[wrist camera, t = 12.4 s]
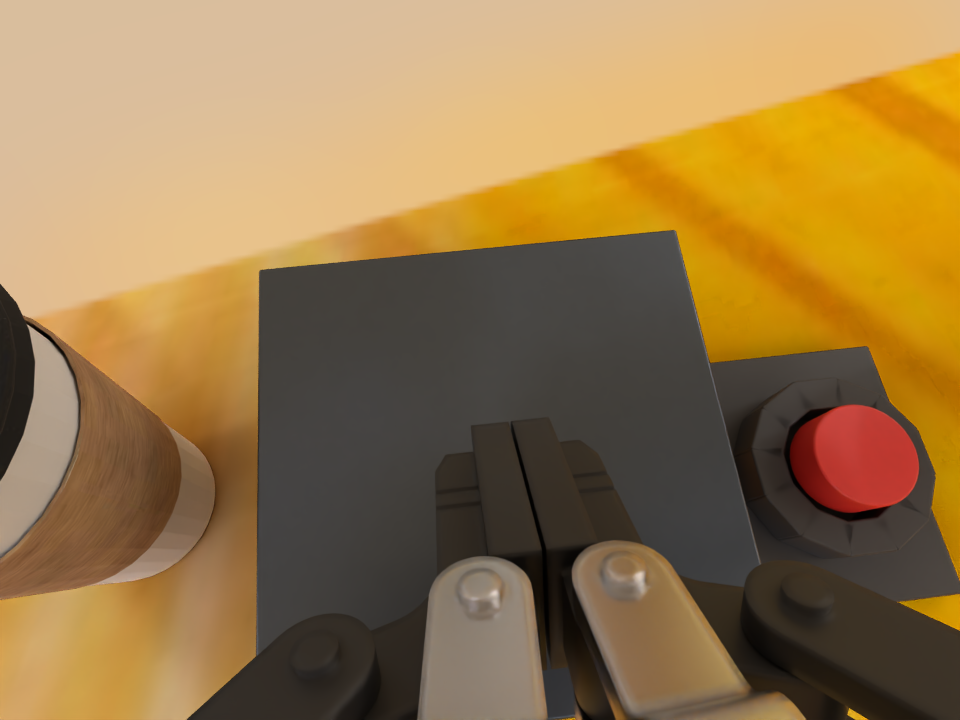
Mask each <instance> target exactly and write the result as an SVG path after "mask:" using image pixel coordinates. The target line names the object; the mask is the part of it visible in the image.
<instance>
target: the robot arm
mask: <svg viewBox="0 0 960 720" xmlns="http://www.w3.org/2000/svg"><path fill="white" fill-rule="evenodd" d="M471 436H472V447H473V452H464V453H455V454H446V455H445V457H444V458H443V460H442V461H441V463H440V465H439V466H438V468H437V469H436V471H435V492H436V494H435V497H436V543H437V578H436V579H435V581H434V582H433V584H432V587H431V589H430V593H429V595H428V597H427V598H426V599H425V600H424V601H423V602H422V603H421V604H420V605H419V606H418V607H417V608H416V609H414V610H413V611H412V612H410V613H409V614H407V615H405V616H404V617H402V618H400V619H397V620H395V621H393V622H391V623H388V624H386V625H383V626H381V627H378V628H376V629H373V630H371V631H370V630H369V628H368V627H367V626H366V625H365V624H364V623H363V622H361V621H360V620H359V619H357V618H355V617H352V616H350V615H345V614H338V613H330V614H322V615H317V616H313V617H310V618H307V619H305V620H303V621H301V622H299V623H296V624H295V625H293V626H292V627H290V628H288V629H287V630H286V631H285V632H283V633H282V634H281V635H280V636H278V637H277V638H276V639H275V640H274V641H273V642H272V643H271V644H270V645H268V646H267V647H266V648H265V649H264V650H263V651H262V652H261V653H260V654H259V655H257V656H256V657H255V658H254V659H253V660H252V661H251V662H250V663H249V664H247V665H246V666H245V667H244V668H243V669H242V670H241V671H240V672H239V673H238V674H236V675H235V676H234V677H233V678H232V679H231V680H230V681H229V682H228V683H226V684H225V685H224V686H223V687H222V688H221V689H220V690H219V691H218V692H217V693H215V694H214V695H213V696H212V697H211V698H210V699H209V700H208V701H207V702H205V703H204V704H203V705H202V706H201V707H200V708H199V709H198V710H197V711H196V712H194V713H193V714H192V715H191V716H190V717H189V718H188V719H187V720H548V716H547V708H546V699H545V691H544V682H543V674H542V671H544V670H547V658H546V647H547V652H548V657H549V661H550V666H551V669H558V668H565V667H568V669H569V672H570V676H571V680H572V684H573V688H574V715H575V720H855V719H853V718H851V717H850V716H848V715H847V713H848V710H849V708H850V709H852V710H854V711H855V712H857V713H859V714H860V715H862V716H864V717H865V718H867V719H869V720H960V631H959V630H957V629H955V628H952V627H950V626H948V625H946V624H944V623H941V622H939V621H937V620H935V619H933V618H930V617H928V616H926V615H924V614H922V613H919V612H917V611H915V610H913V609H911V608H908V607H906V606H904V605H902V604H900V603H897V602H895V601H893V600H891V599H889V598H887V597H884V596H882V595H880V594H878V593H876V592H873V591H871V590H869V589H867V588H865V587H862V586H860V585H858V584H856V583H854V582H851V581H849V580H847V579H845V578H843V577H840V576H838V575H836V574H834V573H832V572H830V571H827V570H825V569H822V568H820V567H818V566H815V565H811V564H808V563H804V562H799V561H791V560H776V561H770V562H766V563H763V564H760V565H759V566H757V567H755V568H754V569H753V570H752V571H751V572H750V573H749V574H748V576H747V577H746V581H745V585H744V587H740V586H732V585H725V584H717V583H710V582H703V581H698V580H693V579H690V578H687V577H684V576H681V575H679V574H677V573H676V572H675V570H674V568H673V567H672V566H671V564H670V563H669V562H668V561H667V560H666V559H665V558H664V557H663V556H662V555H661V554H659V553H658V552H656V551H655V550H653V549H651V548H649V547H647V546H644V545H643V543H642V541H641V539H640V537H639V535H638V533H637V531H636V529H635V527H634V525H633V523H632V521H631V519H630V517H629V515H628V513H627V511H626V509H625V507H624V504H623V502H622V500H621V498H620V496H619V494H618V492H617V490H616V489H614V484H613V482H612V480H611V478H610V476H609V474H608V475H607V470H606V468H605V466H604V464H603V462H602V460H601V458H600V456H599V454H598V453H597V452H596V451H594V450H593V449H592V448H590V447H589V446H588V445H586V444H585V443H584V442H582V441H581V440H571V441H562V442H559V440H558V438H557V435H556V433H555V430H554V428H553V425H552V423H551V420H550V418H549V417H544V418H534V419H525V420H516V421H511V425H509V422H499V423H490V424H480V425H471Z"/></svg>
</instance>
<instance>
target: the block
mask: <svg viewBox="0 0 960 720" xmlns="http://www.w3.org/2000/svg"><path fill="white" fill-rule="evenodd" d="M710 366H711V370H712V374H713V378H714V382H715V386H716V390H717V394H718V397H719V401H720V405H721V409H722V413H723V417H724V421H725V425H726V429H727V432H728V436H729V440H730V444H731V448H732V452H733V456H734V460H735V464H736V468H737V471H738V475H739V479H740V483H741V487H742V491H743V495H744V499H745V503H746V507H747V510H748V514H749V518H750V522H751V526H752V530H753V534H754V538H755V542H756V545H757V549H758V553H759V557H760V561H761V564H763V563H766V562H770V561H776V560H791V561H799V562H804V563H808V564H811V565H815V566H818V567H820V568H822V569H825V570H827V571H830V572H832V573H834V574H836V575H838V576H840V577H843V578H845V579H847V580H849V581H851V582H854V583H856V584H858V585H860V586H862V587H865V588H867V589H869V590H871V591H873V592H876V593H878V594H880V595H882V596H884V597H887V598H889V599H891V600H893V601H895V602H901V601H909V600H916V599H924V598H932V597H939V596H947V595H955V594H960V581H959V578H958V576H957V573H956V571H955V568H954V566H953V563H952V561H951V558H950V555H949V553H948V550H947V548H946V545H945V543H944V540H943V538H942V535H941V532H940V530H939V527H938V525H937V522H936V520H935V517H934V514H933V512H932V509H931V506H932V499H933V492H934V485H935V478H936V477H935V471H934V469H933V466H932V464H931V461H930V459H929V456H928V454H927V451H926V449H925V446H924V444H923V441H922V439H921V436H920V434H919V431H918V430H917V428H916V427H915V426H914V425H913V424H912V423H911V422H910V421H909V420H908V419H906V418H905V417H904V416H903V415H902V414H901V413H900V412H899V411H898V410H897V409H896V408H895V407H894V406H893V405H892V404H891V403H890V402H889V399H888V397H887V394H886V392H885V389H884V387H883V384H882V381H881V379H880V376H879V374H878V371H877V369H876V366H875V364H874V361H873V358H872V356H871V353H870V351H869V348H868V347H867V346H864V347H854V348H845V349H836V350H827V351H817V352H808V353H799V354H790V355H780V356H771V357H762V358H753V359H743V360H734V361H725V362H716V363H710ZM844 405H863V406H868V407H871V408H874V409H877V410H879V411H881V412H883V413H885V414H886V415H888V416H889V417H891V418H892V419H894V420H895V421H896V422H897V423H898V424H899V425H900V426H901V427H902V428H903V429H904V430H905V432H906V433H907V434H908V436H909V437H910V439H911V441H912V442H913V444H914V447H915V449H916V452H917V456H918V461H919V474H918V479H917V482H916V484H915V486H914V488H913V490H912V491H911V492H910V494H909V495H908V496H907V497H906V498H904V499H903V500H902V501H900V502H898V503H896V504H893V505H891V506H886V507H881V508H876V509H871V510H866V511H861V512H856V513H845V512H839V511H835V510H832V509H829V508H827V507H825V506H823V505H821V504H820V503H818V502H816V501H815V500H814V499H813V498H811V497H810V496H809V495H808V494H807V493H806V492H805V491H804V490H803V488H802V487H801V486H800V484H799V483H798V481H797V479H796V477H795V475H794V473H793V470H792V467H791V463H790V447H791V443H792V440H793V437H794V435H795V434H796V432H797V431H798V429H799V428H800V427H801V426H802V425H804V424H805V423H807V422H808V421H810V420H812V419H814V418H816V417H818V416H820V415H822V414H824V413H826V412H828V411H830V410H832V409H834V408H836V407H839V406H844Z"/></svg>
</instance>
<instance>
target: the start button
mask: <svg viewBox="0 0 960 720" xmlns="http://www.w3.org/2000/svg"><path fill="white" fill-rule="evenodd" d="M790 463H791V467H792V470H793V473H794V475H795V477H796V479H797V481H798V483H799V484H800V486H801V487H802V488H803V490H804V491H805V492H806V493H807V494H808V495H809V496H810V497H811V498H813V499H814V500H815V501H816V502H818V503H820V504H821V505H823V506H825V507H827V508H829V509H832V510H835V511H839V512H845V513H856V512H861V511H866V510H871V509H876V508H881V507H886V506H891V505H893V504H896V503H898V502H900V501H902V500H903V499H904V498H906V497H907V496H908V495H909V494H910V492H911V491H912V490H913V488H914V486H915V484H916V482H917V479H918V474H919V461H918V456H917V452H916V449H915V447H914V444H913V442H912V441H911V439H910V437H909V436H908V434H907V433H906V432H905V430H904V429H903V428H902V427H901V426H900V425H899V424H898V423H897V422H896V421H895V420H894V419H892V418H891V417H889V416H888V415H886V414H885V413H883V412H881V411H879V410H877V409H874V408H871V407H868V406H863V405H844V406H839V407H836V408H834V409H832V410H830V411H828V412H826V413H824V414H822V415H820V416H818V417H816V418H814V419H812V420H810V421H808V422H807V423H805V424H804V425H802V426H801V427H800V428H799V429H798V431H797V432H796V434H795V435H794V437H793V440H792V443H791V447H790Z"/></svg>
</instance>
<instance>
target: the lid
mask: <svg viewBox="0 0 960 720" xmlns="http://www.w3.org/2000/svg"><path fill="white" fill-rule="evenodd" d="M544 417H549V418H550V420H551V423H552V425H553V428H554V430H555V433H556V435H557V438H558V440H559V442H562V441H571V440H581V441H582V442H584V443H585V444H586V445H588V446H589V447H590V448H592V449H593V450H594V451H596V452H597V453H598V454H599V456H600V458H601V460H602V462H603V464H604V466H605V468H606V470H607V475H608V474H609V476H610V478H611V480H612V482H613V484H614V489H616V490H617V492H618V494H619V496H620V498H621V500H622V502H623V504H624V507H625V509H626V511H627V513H628V515H629V517H630V519H631V521H632V523H633V525H634V527H635V529H636V531H637V533H638V535H639V537H640V539H641V541H642V543H643V545H644V546H647V547H649V548H651V549H653V550H655V551H656V552H658V553H659V554H661V555H662V556H663V557H664V558H665V559H666V560H667V561H668V562H669V563H670V564H671V566H672V567H673V568H674V570H675V572H676V573H677V574H679V575H681V576H684V577H687V578H690V579H693V580H698V581H703V582H710V583H717V584H725V585H732V586H740V587H744V585H745V581H746V577H747V576H748V574H749V573H750V572H751V571H752V570H753V569H754V568H755V567H757V566H759V565H760V564H761V561H760V557H759V553H758V549H757V545H756V542H755V538H754V534H753V530H752V526H751V522H750V518H749V514H748V510H747V507H746V503H745V499H744V495H743V491H742V487H741V483H740V479H739V475H738V471H737V468H736V464H735V460H734V456H733V452H732V448H731V444H730V440H729V436H728V432H727V429H726V425H725V421H724V417H723V413H722V409H721V405H720V401H719V397H718V394H717V390H716V386H715V382H714V378H713V374H712V370H711V366H710V362H709V358H708V355H707V351H706V347H705V343H704V339H703V335H702V331H701V327H700V323H699V320H698V316H697V312H696V308H695V304H694V300H693V296H692V292H691V288H690V284H689V281H688V277H687V273H686V269H685V265H684V261H683V257H682V253H681V249H680V245H679V242H678V238H677V234H676V231H675V230H670V231H660V232H649V233H639V234H628V235H618V236H608V237H597V238H587V239H577V240H566V241H556V242H546V243H535V244H525V245H514V246H504V247H494V248H483V249H473V250H463V251H452V252H442V253H432V254H421V255H411V256H400V257H390V258H380V259H369V260H359V261H349V262H338V263H328V264H318V265H307V266H297V267H286V268H276V269H266V270H260V272H259V366H258V493H257V620H256V656H257V655H259V654H260V653H261V652H262V651H263V650H264V649H265V648H266V647H267V646H268V645H270V644H271V643H272V642H273V641H274V640H275V639H276V638H277V637H278V636H280V635H281V634H282V633H283V632H285V631H286V630H287V629H288V628H290V627H292V626H293V625H295V624H296V623H299V622H301V621H303V620H305V619H307V618H310V617H313V616H317V615H322V614H330V613H338V614H345V615H350V616H352V617H355V618H357V619H359V620H360V621H361V622H363V623H364V624H365V625H366V626H367V627H368V628H369V630H370V631H371V630H373V629H376V628H378V627H381V626H383V625H386V624H388V623H391V622H393V621H395V620H397V619H400V618H402V617H404V616H405V615H407V614H409V613H410V612H412V611H413V610H414V609H416V608H417V607H418V606H419V605H420V604H421V603H422V602H423V601H424V600H425V599H426V598H427V597H428V595H429V593H430V589H431V587H432V584H433V582H434V581H435V579H436V578H437V543H436V497H435V494H436V492H435V471H436V469H437V468H438V466H439V465H440V463H441V461H442V460H443V458H444V457H445V455H446V454H455V453H464V452H473V447H472V436H471V425H480V424H490V423H499V422H509V425H511V421H516V420H525V419H534V418H544ZM546 658H547V670H544V671H542V674H543V682H544V691H545V699H546V708H547V716H548V720H561V719H568V718H575V715H574V688H573V684H572V680H571V676H570V672H569V669H568V667H565V668H558V669H551V666H550V661H549V657H548V652H547V647H546Z"/></svg>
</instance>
